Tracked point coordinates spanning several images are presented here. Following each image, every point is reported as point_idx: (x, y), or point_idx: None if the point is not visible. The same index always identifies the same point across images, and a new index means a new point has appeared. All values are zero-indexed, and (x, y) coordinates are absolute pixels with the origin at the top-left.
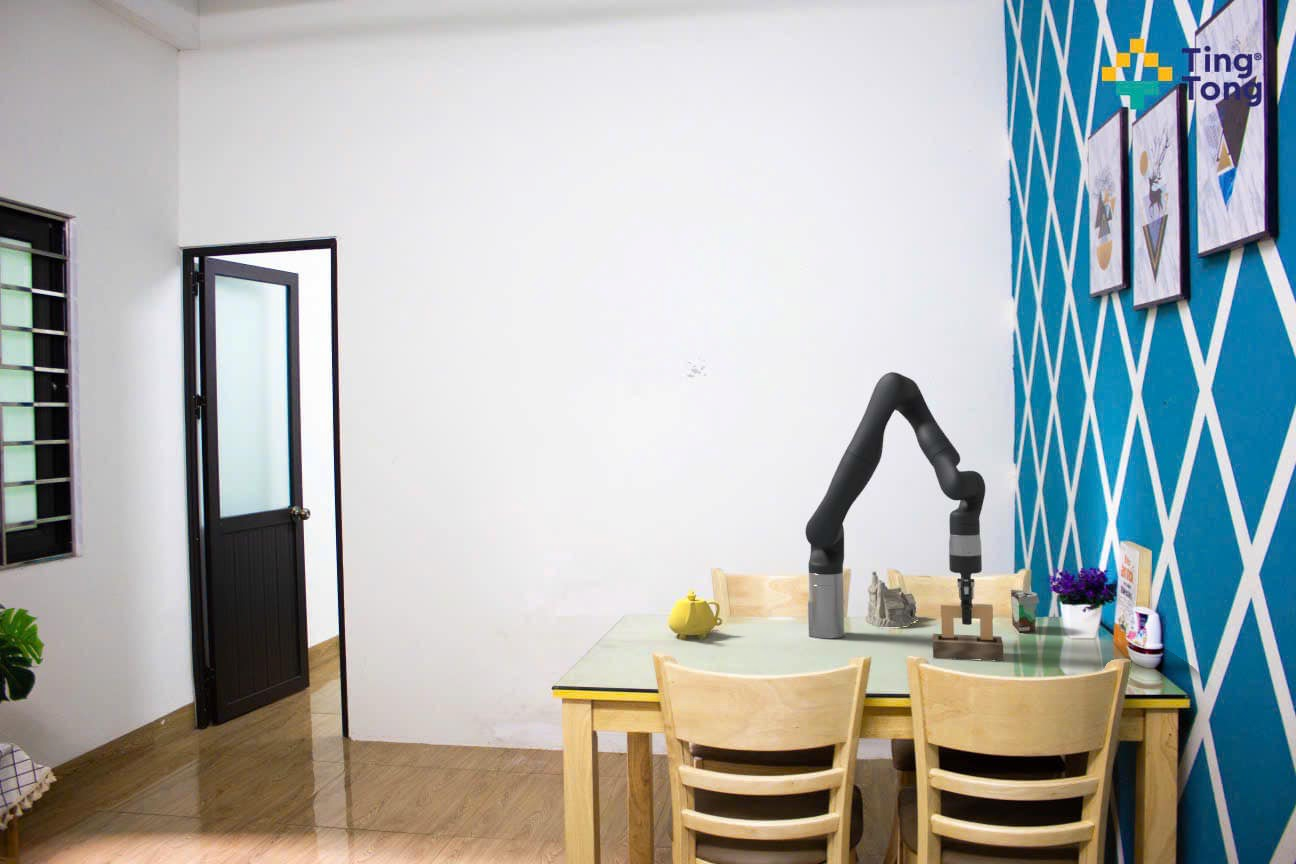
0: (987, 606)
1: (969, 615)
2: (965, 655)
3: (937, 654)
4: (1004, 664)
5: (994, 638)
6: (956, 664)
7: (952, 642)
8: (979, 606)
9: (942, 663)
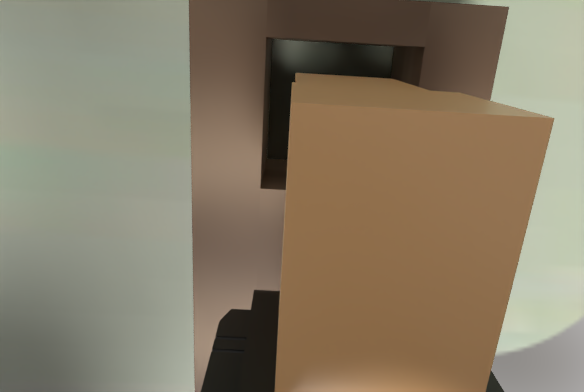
0: (503, 213)
1: (490, 377)
2: None
3: None
4: (526, 18)
5: (265, 53)
6: (525, 278)
7: None
8: (494, 339)
9: (504, 336)
